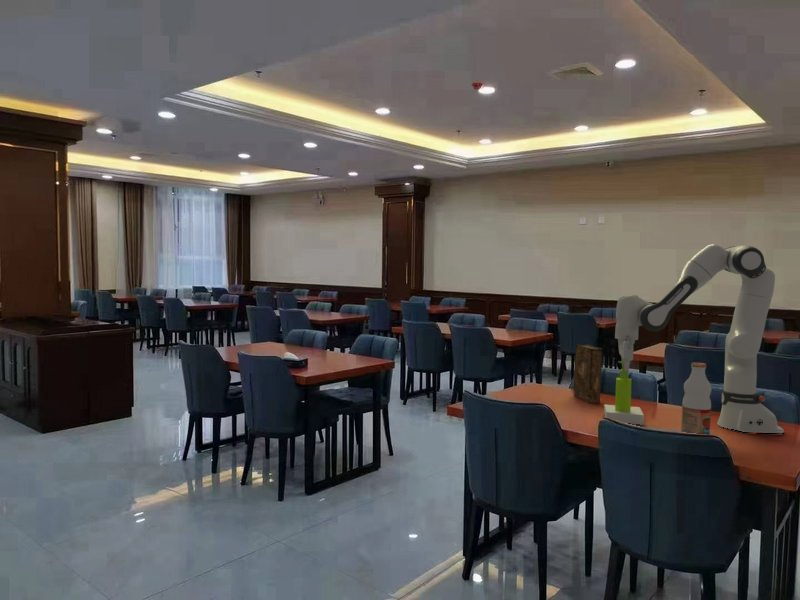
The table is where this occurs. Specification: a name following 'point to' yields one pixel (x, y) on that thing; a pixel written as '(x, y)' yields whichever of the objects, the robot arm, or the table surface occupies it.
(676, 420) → the table surface
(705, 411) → the fruit juice
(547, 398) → the table surface
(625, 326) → the robot arm
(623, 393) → the soap dispenser
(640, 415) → the plinth
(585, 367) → the book
